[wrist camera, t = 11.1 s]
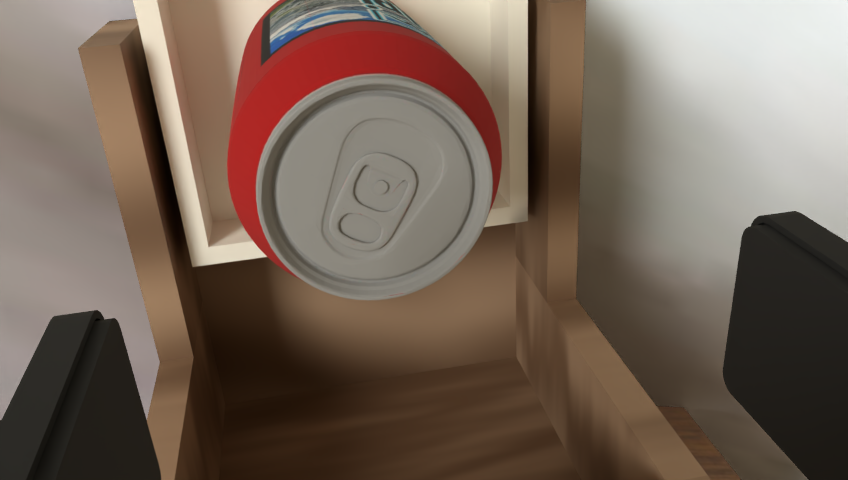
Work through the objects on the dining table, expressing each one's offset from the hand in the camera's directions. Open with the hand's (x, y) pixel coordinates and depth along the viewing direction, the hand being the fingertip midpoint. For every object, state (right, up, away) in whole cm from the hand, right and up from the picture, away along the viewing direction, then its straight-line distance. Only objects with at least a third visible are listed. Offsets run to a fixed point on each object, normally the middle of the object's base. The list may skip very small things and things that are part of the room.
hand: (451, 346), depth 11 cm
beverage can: (-4, +8, +16) cm, 19 cm away
